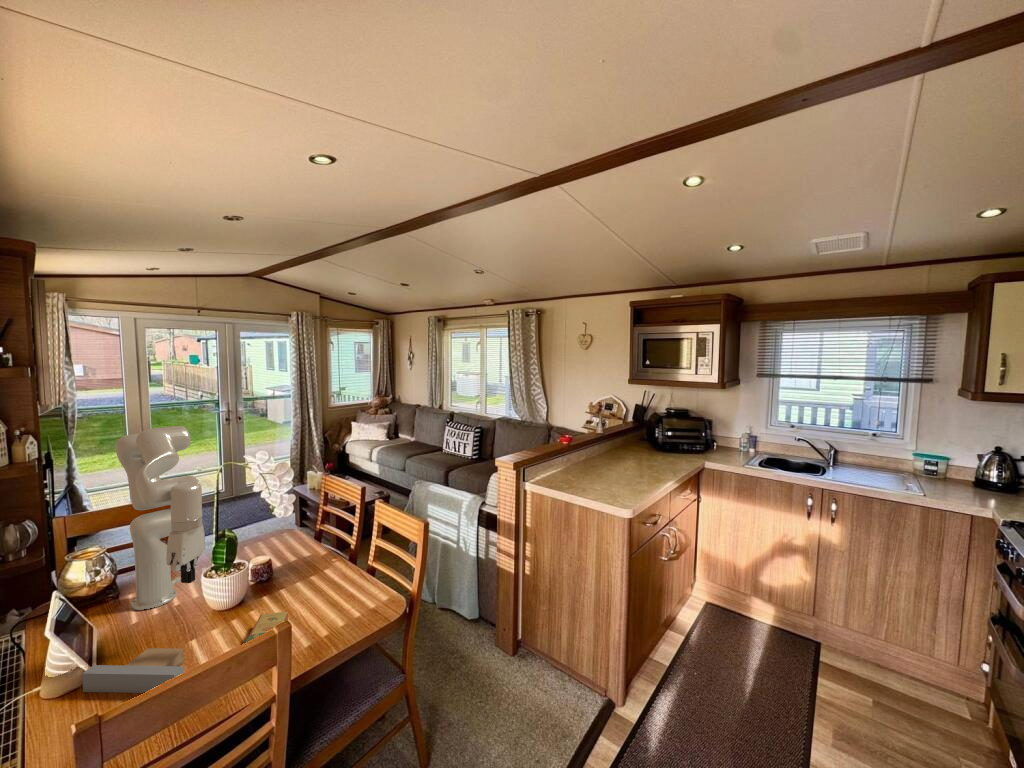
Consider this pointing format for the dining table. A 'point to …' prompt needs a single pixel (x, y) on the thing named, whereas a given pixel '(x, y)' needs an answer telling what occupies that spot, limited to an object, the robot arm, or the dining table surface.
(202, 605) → the dining table surface
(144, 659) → the walnut block
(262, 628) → the carton
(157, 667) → the board
